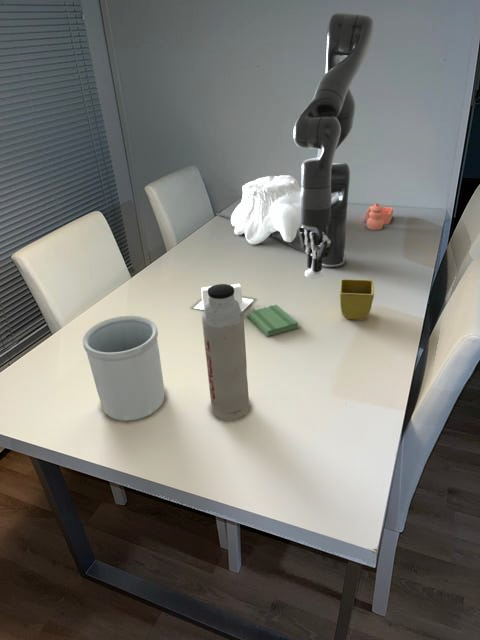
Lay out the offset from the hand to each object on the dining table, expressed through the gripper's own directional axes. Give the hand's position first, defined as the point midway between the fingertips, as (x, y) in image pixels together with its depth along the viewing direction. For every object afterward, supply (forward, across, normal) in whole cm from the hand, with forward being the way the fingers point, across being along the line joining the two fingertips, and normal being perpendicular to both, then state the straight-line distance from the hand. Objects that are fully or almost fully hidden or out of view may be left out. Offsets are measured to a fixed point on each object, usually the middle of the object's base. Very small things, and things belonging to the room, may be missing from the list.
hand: (314, 269), depth 127 cm
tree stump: (+15, +72, -26) cm, 78 cm away
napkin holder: (+15, +21, +18) cm, 32 cm away
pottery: (+15, +56, -65) cm, 87 cm away
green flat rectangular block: (+15, +4, +11) cm, 19 cm away
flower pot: (+15, -4, -11) cm, 19 cm away
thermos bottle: (+15, -24, +35) cm, 45 cm away
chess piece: (+2, 0, 0) cm, 2 cm away
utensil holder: (+15, -12, +53) cm, 56 cm away
